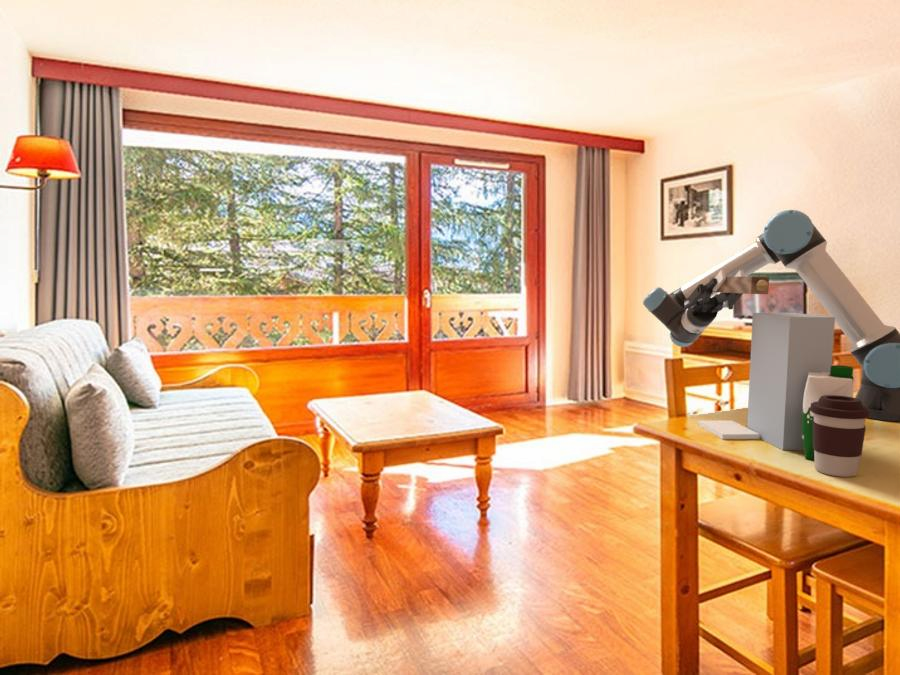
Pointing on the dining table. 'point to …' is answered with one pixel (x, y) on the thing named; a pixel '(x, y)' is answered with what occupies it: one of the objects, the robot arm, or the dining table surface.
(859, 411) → the coffee cup
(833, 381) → the milk carton
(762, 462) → the dining table surface
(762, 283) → the pepper mill
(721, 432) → the plate
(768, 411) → the stand
